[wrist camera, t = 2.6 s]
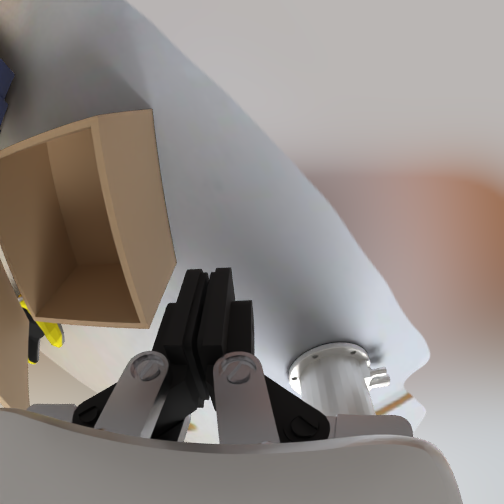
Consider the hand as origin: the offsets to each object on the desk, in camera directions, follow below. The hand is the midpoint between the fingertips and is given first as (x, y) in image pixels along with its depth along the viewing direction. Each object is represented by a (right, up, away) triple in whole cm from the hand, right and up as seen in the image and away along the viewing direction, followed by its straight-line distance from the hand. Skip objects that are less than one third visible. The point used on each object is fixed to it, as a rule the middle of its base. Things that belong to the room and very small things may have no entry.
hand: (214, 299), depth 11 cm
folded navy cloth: (-41, +20, +12) cm, 47 cm away
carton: (-15, +8, +18) cm, 24 cm away
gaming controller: (-34, -9, +27) cm, 44 cm away
